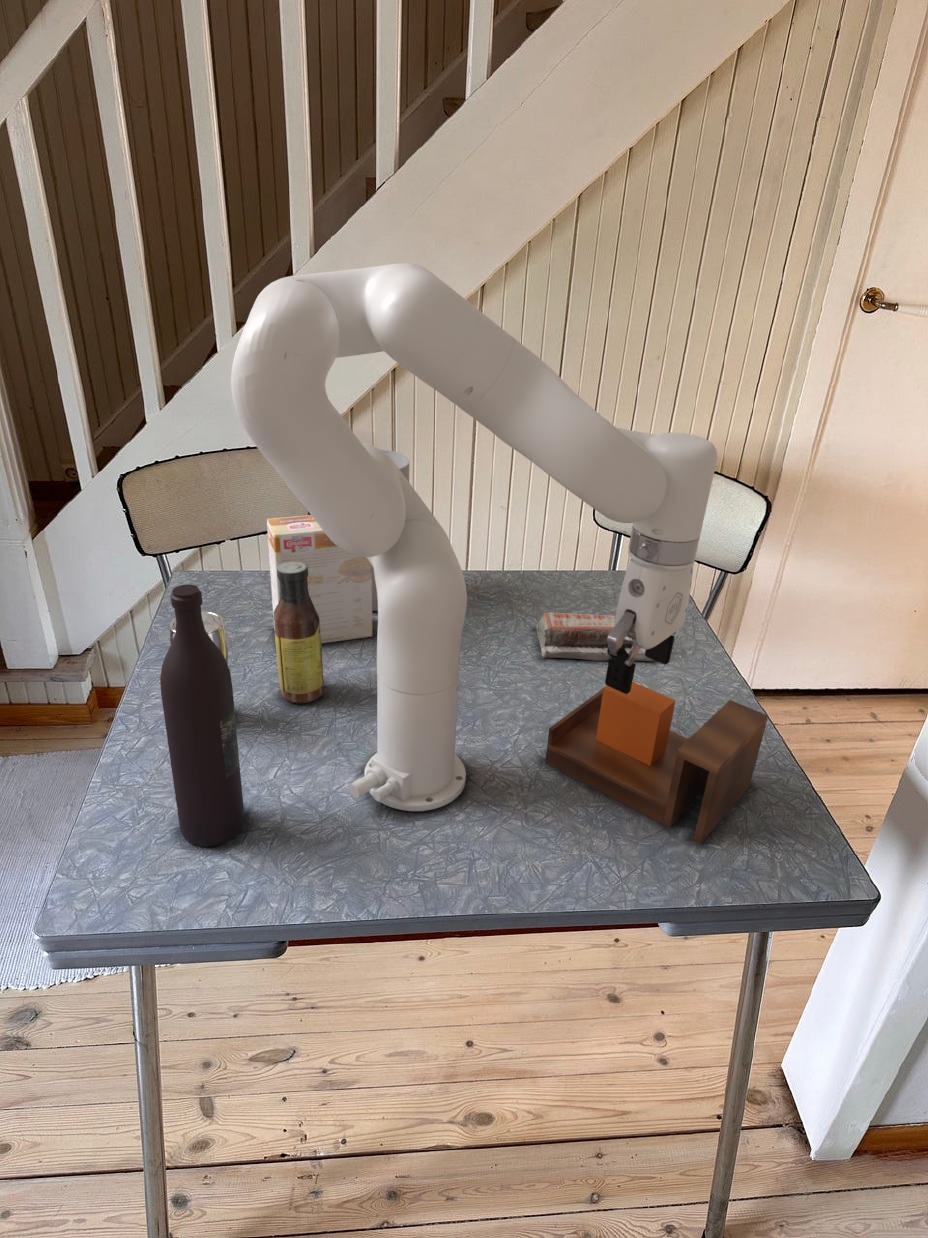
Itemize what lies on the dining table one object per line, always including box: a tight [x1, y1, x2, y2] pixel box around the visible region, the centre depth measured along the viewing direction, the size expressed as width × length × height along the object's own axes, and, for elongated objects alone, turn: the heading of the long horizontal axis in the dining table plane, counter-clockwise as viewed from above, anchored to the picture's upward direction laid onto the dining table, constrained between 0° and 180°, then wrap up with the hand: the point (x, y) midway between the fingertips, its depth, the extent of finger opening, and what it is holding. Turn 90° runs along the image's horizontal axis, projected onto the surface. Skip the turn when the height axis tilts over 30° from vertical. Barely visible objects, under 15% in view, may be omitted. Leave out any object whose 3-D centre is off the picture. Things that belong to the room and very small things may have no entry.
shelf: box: [544, 685, 769, 844], centre depth 105 cm, size 14×22×11 cm, turn 50°
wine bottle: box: [159, 584, 245, 847], centre depth 89 cm, size 7×7×30 cm
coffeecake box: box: [266, 514, 373, 644], centre depth 132 cm, size 15×7×20 cm, turn 111°
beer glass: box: [169, 610, 229, 666], centre depth 110 cm, size 7×7×15 cm
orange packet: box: [596, 681, 676, 766], centre depth 106 cm, size 4×8×8 cm, turn 50°
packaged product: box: [535, 611, 654, 662], centre depth 136 cm, size 18×5×10 cm
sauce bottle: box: [273, 562, 325, 704], centre depth 116 cm, size 6×6×20 cm
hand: (637, 673), depth 103 cm, fingers open, 9 cm apart
